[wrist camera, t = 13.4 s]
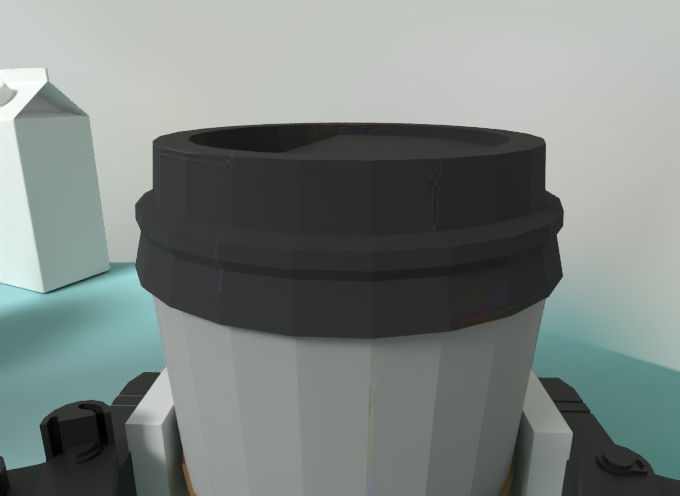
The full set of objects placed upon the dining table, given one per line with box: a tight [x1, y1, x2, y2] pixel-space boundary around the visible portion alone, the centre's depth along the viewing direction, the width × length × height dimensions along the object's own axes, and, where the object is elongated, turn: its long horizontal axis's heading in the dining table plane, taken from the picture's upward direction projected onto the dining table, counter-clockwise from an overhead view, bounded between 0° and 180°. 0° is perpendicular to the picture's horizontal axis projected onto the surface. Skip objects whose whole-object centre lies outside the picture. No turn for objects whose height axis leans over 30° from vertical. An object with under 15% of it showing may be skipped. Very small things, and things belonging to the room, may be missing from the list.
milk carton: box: [0, 68, 110, 293], centre depth 46 cm, size 7×7×19 cm
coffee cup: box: [135, 123, 564, 496], centre depth 12 cm, size 8×8×15 cm
